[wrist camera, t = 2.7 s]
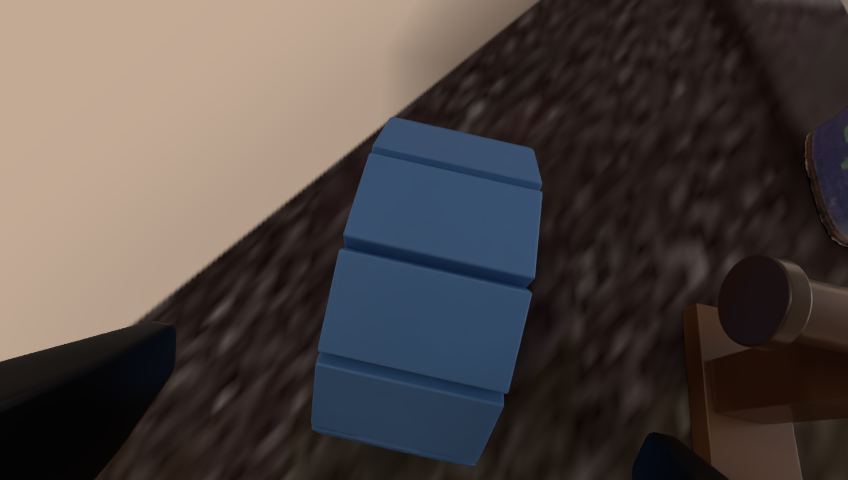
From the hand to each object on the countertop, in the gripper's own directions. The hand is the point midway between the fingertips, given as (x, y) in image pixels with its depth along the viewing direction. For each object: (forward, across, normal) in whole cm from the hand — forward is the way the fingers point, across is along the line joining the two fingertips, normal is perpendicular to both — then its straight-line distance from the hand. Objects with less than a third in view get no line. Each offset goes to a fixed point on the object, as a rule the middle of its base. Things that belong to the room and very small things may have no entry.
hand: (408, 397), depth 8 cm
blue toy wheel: (+12, 0, +5) cm, 13 cm away
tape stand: (+12, -13, +5) cm, 18 cm away
